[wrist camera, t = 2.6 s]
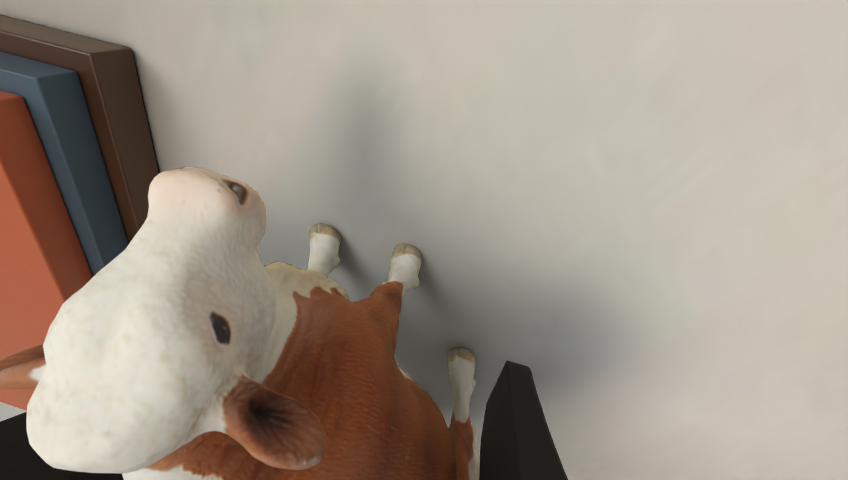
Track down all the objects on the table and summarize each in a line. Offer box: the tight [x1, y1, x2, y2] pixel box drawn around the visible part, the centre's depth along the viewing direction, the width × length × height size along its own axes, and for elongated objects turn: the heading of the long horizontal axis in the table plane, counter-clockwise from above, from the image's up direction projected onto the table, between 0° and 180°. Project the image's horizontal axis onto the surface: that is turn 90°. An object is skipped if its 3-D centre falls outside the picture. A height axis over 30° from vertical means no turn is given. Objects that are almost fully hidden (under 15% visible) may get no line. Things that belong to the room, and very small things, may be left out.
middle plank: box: [0, 51, 129, 277], centre depth 14 cm, size 15×8×1 cm, turn 169°
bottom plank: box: [0, 15, 159, 243], centre depth 14 cm, size 16×9×1 cm, turn 169°
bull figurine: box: [0, 167, 480, 480], centre depth 9 cm, size 4×13×8 cm, turn 18°
